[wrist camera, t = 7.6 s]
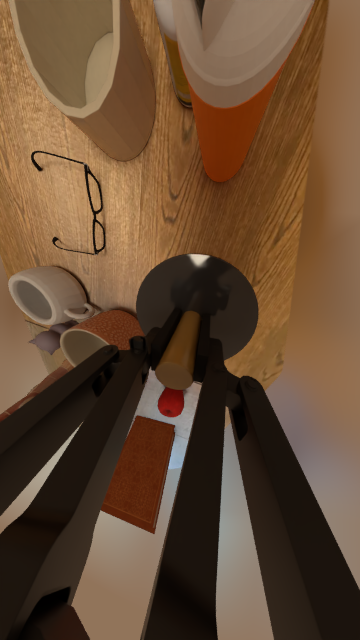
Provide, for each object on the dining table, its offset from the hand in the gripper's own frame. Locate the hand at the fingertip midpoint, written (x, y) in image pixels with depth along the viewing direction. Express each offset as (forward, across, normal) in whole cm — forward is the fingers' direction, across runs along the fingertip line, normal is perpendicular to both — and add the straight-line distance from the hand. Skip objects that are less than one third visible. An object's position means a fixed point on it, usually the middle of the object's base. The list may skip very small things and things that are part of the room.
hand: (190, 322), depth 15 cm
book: (+20, -13, -80) cm, 83 cm away
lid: (+1, 0, 0) cm, 1 cm away
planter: (+20, -23, -18) cm, 35 cm away
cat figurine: (+20, -46, -23) cm, 55 cm away
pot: (+20, -19, +28) cm, 39 cm away
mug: (+20, -41, -9) cm, 47 cm away
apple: (+20, -4, -43) cm, 48 cm away
